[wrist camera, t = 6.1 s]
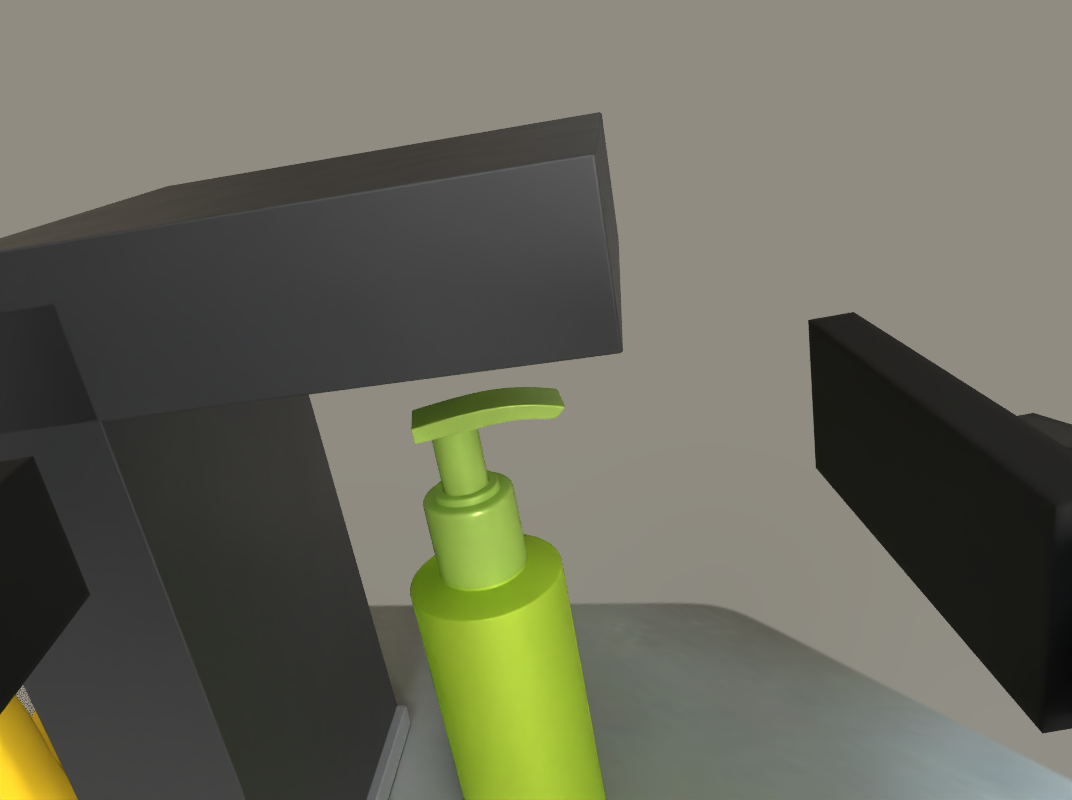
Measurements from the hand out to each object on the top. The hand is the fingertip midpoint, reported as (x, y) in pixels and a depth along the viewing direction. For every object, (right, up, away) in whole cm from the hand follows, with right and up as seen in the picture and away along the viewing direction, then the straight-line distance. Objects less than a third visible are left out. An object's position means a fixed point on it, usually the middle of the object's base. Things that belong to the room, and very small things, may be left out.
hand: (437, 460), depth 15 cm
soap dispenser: (+2, -18, +23) cm, 29 cm away
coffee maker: (-2, -18, +24) cm, 30 cm away
